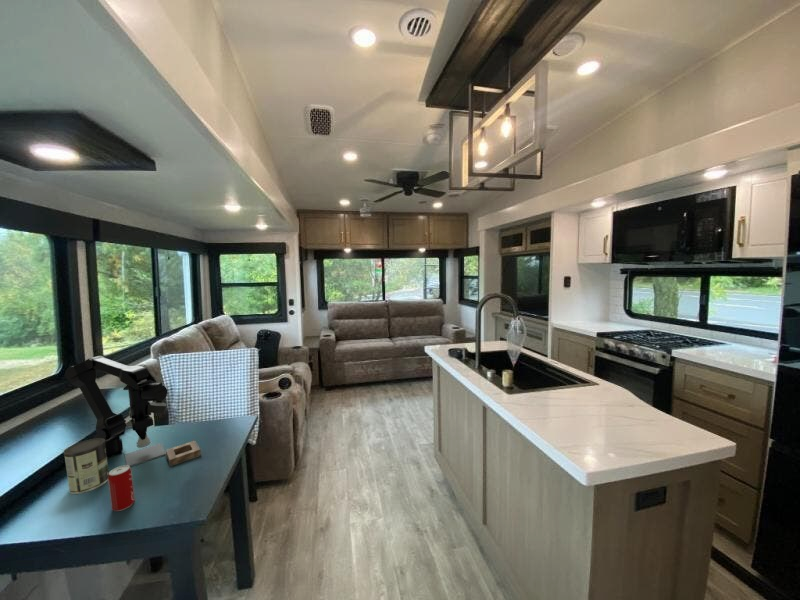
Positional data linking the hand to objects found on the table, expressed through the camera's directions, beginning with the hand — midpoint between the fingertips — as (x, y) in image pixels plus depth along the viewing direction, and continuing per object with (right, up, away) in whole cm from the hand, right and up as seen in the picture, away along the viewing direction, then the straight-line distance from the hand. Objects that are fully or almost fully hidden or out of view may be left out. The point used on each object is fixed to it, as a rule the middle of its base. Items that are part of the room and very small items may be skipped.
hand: (143, 438), depth 130 cm
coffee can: (-5, -9, -17) cm, 20 cm away
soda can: (+16, -9, -28) cm, 34 cm away
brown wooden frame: (+17, -7, -1) cm, 18 cm away
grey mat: (0, -7, +1) cm, 7 cm away
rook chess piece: (0, -3, 0) cm, 3 cm away
